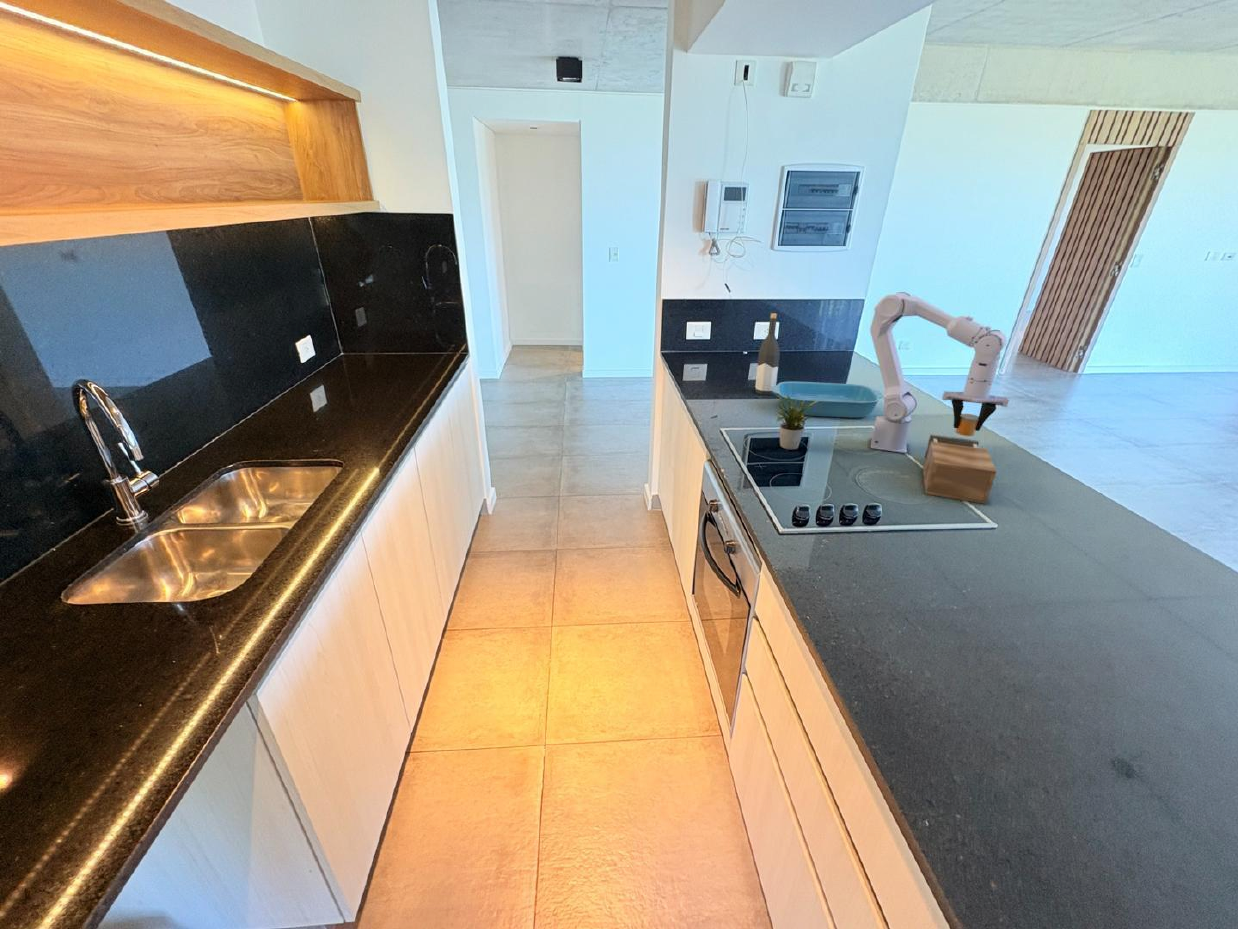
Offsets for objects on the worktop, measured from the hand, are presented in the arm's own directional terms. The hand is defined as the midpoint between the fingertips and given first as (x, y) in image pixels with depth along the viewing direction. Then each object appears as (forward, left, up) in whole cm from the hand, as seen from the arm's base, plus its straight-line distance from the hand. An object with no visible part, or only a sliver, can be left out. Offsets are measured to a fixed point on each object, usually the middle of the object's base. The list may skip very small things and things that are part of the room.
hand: (965, 428), depth 142 cm
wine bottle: (-61, +46, -11) cm, 78 cm away
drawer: (-2, -5, -10) cm, 11 cm away
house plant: (-45, -7, -11) cm, 47 cm away
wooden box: (-2, -17, -10) cm, 20 cm away
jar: (0, 0, -1) cm, 1 cm away
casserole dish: (-38, +33, -11) cm, 52 cm away
